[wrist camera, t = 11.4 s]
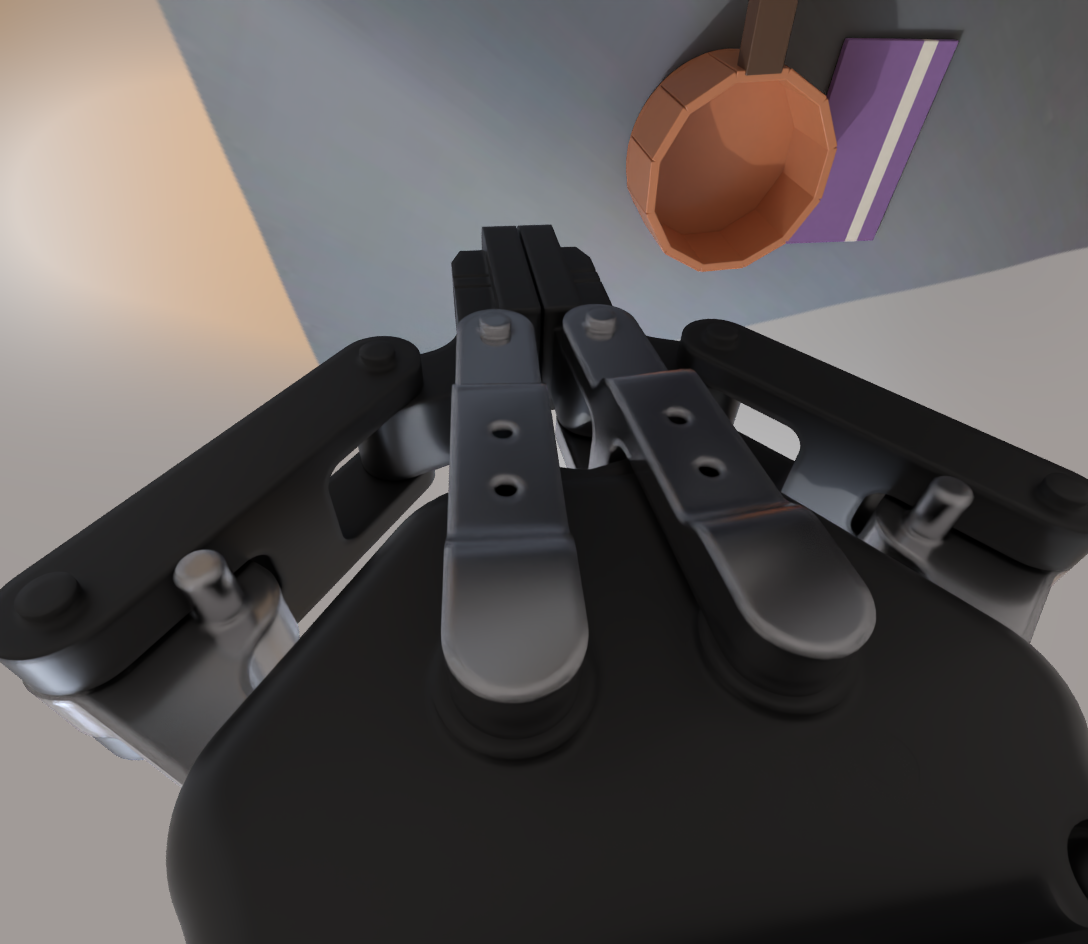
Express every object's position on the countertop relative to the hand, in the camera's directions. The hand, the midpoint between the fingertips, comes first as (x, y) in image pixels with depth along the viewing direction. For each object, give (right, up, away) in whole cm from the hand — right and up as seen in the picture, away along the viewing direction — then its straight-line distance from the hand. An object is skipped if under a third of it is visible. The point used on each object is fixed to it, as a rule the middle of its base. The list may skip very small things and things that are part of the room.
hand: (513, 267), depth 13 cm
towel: (+19, +15, +23) cm, 33 cm away
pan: (+10, +16, +19) cm, 27 cm away
